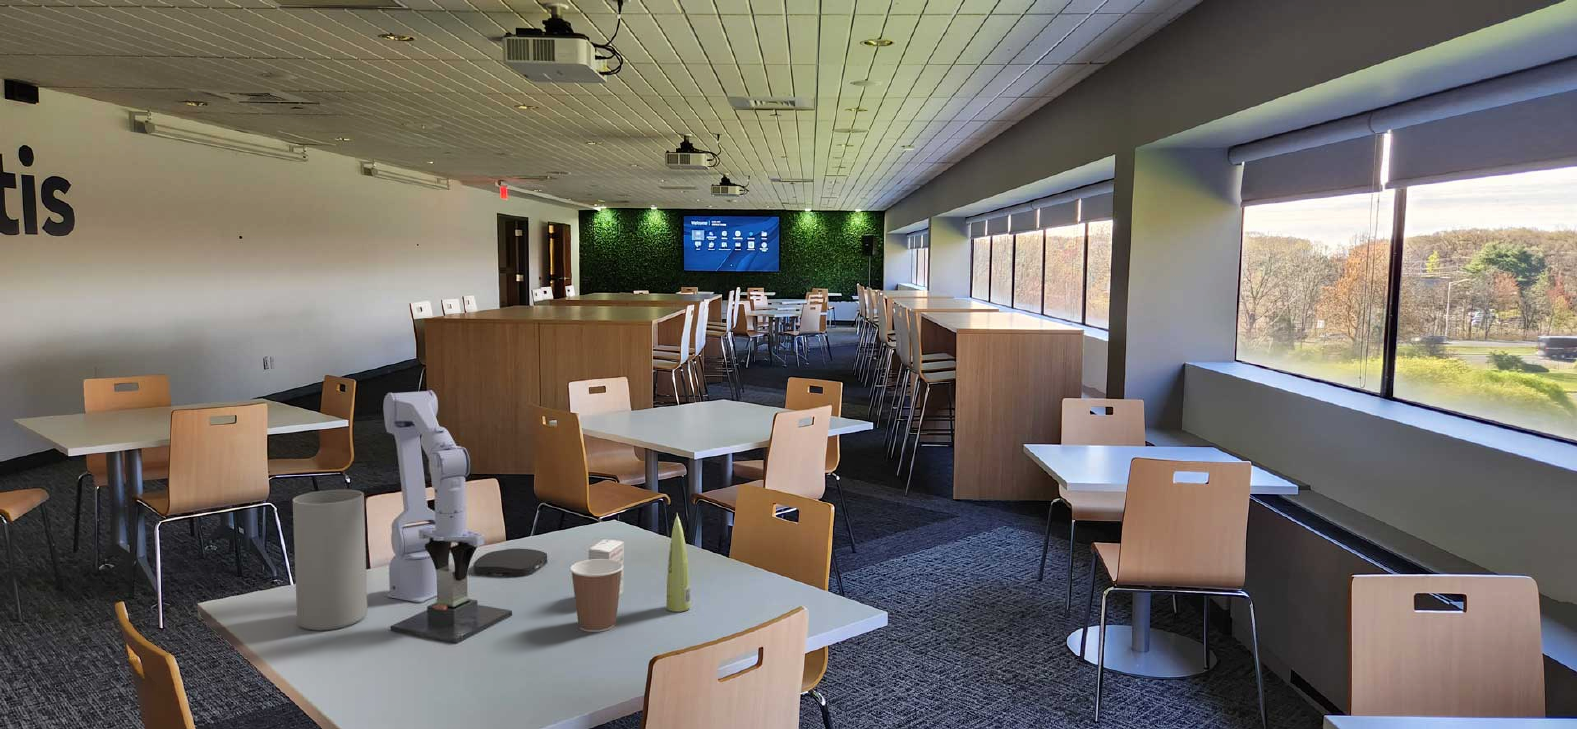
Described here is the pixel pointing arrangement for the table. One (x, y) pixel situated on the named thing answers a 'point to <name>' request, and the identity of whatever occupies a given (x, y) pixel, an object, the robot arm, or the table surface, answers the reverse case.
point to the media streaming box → (510, 563)
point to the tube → (678, 571)
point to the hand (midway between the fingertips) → (451, 577)
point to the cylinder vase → (330, 559)
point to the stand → (451, 621)
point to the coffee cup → (596, 593)
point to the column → (450, 587)
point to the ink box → (609, 553)
